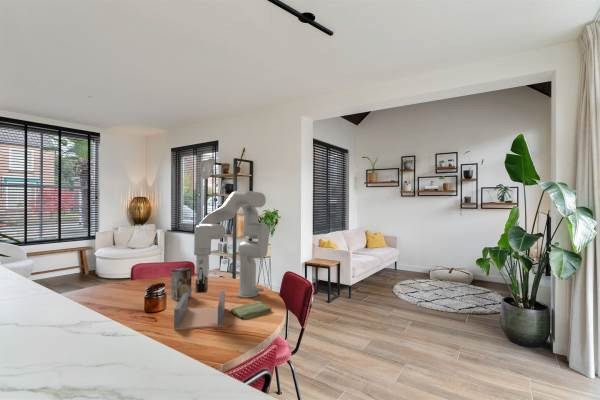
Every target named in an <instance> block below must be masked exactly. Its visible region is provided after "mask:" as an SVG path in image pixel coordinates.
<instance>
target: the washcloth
mask: <svg viewBox="0 0 600 400" xmlns="http://www.w3.org/2000/svg"><path fill="white" fill-rule="evenodd" d="M230 312H231V313H232V314H234V315H235V316H237V317H238V318H241V319H243V320H247V319H251V318H254V317H257V316H261V315H264V314H268V313H271V312H272V307H270V306H268V305H266V304H264V303H263V302H261V301H260V300H257V301H254V302H251V303H246V304H244V305H243V304H242V305H239V306H235V307H233V308H231V309H230Z"/></svg>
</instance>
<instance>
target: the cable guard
mask: <svg viewBox="0 0 600 400" xmlns="http://www.w3.org/2000/svg"><path fill="white" fill-rule="evenodd" d="M225 295H226V291H220V295H219V299H218V305H217V307H202V308H201V307H200V308H189V306H188V305H189V297H188V293H184V294H183V296H182V297H181V299H180V300H178V302H177V304H176V305H175V308H174V310H173V311H174V313H173V315H174V316H173V317H174V318H173V329H174V331H175V330H191V329H192V330H193V329H207V328H221V327H223V324H224V318H225V317H224V315H225V308H226V297H225Z"/></svg>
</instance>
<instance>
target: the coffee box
mask: <svg viewBox="0 0 600 400" xmlns="http://www.w3.org/2000/svg"><path fill="white" fill-rule="evenodd" d="M170 271H171V272H170V273H171V274H170V278H171V279H170V281H171V282H170V284H171V286H170V289H171V290H170V294H171V295H170V298H171V299H172V300H173V301H180V299H181V297H182V296H183V294H184V293H188V298H191V297H192V268H188V267H180V268H176V269H171V270H170Z"/></svg>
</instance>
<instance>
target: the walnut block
mask: <svg viewBox="0 0 600 400" xmlns="http://www.w3.org/2000/svg"><path fill="white" fill-rule="evenodd" d="M202 279H203V278H202ZM204 283H205V292H197V284H198V277H197V276H196V279H195V288H194V289H195V294H205V293H208V289H209V277H208V276H207V277H204Z"/></svg>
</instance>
